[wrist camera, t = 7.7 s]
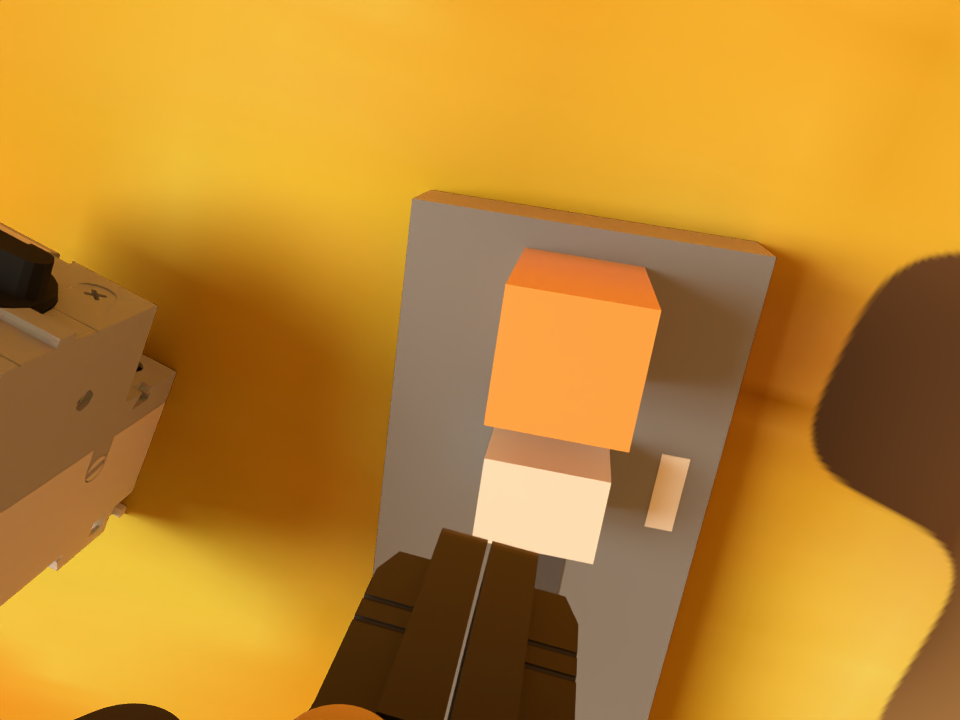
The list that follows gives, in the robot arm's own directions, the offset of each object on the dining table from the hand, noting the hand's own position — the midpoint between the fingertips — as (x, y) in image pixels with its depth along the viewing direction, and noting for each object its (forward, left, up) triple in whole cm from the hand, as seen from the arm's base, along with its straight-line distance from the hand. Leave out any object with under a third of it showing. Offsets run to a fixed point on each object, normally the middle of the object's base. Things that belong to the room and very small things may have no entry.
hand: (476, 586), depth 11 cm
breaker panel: (-9, -1, -18) cm, 20 cm away
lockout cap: (+1, -1, -15) cm, 15 cm away
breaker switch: (-5, -1, -15) cm, 16 cm away
